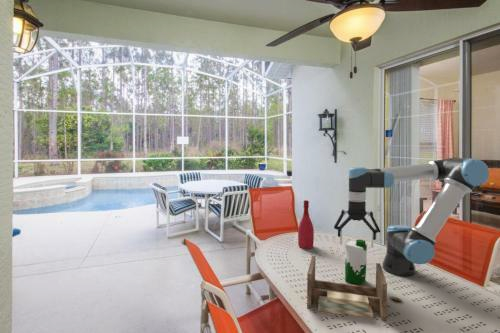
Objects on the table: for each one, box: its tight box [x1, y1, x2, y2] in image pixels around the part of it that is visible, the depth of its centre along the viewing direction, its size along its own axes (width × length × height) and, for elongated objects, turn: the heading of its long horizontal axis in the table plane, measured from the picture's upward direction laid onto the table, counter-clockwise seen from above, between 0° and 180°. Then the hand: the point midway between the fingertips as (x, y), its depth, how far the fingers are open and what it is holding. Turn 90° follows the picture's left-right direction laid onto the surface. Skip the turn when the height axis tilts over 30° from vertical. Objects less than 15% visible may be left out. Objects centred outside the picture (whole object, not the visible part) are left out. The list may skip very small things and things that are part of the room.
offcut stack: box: [317, 290, 374, 319], centre depth 109 cm, size 20×6×6 cm, turn 77°
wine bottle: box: [297, 199, 315, 250], centre depth 179 cm, size 10×10×30 cm
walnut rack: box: [306, 255, 388, 322], centre depth 116 cm, size 28×19×14 cm, turn 72°
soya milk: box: [344, 239, 368, 286], centre depth 133 cm, size 9×9×20 cm
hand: (356, 245), depth 132 cm, fingers open, 13 cm apart
